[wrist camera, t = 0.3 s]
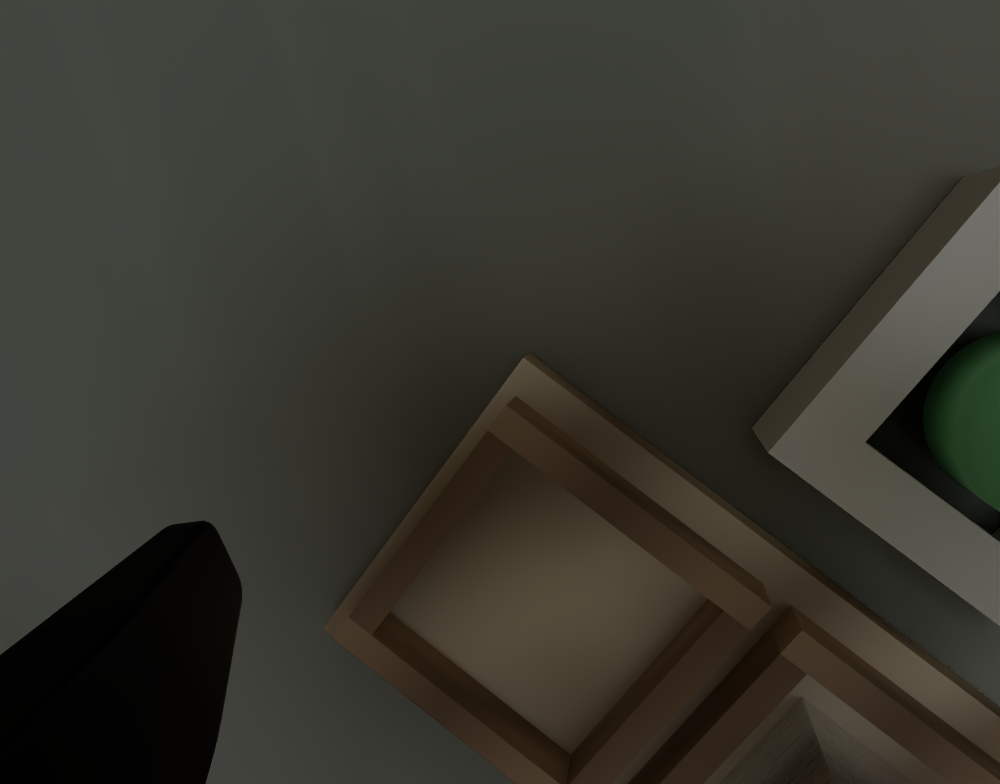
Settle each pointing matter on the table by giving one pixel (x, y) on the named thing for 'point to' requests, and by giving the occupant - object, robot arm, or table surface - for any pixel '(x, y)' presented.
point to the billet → (811, 754)
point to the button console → (899, 391)
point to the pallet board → (630, 616)
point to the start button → (968, 418)
